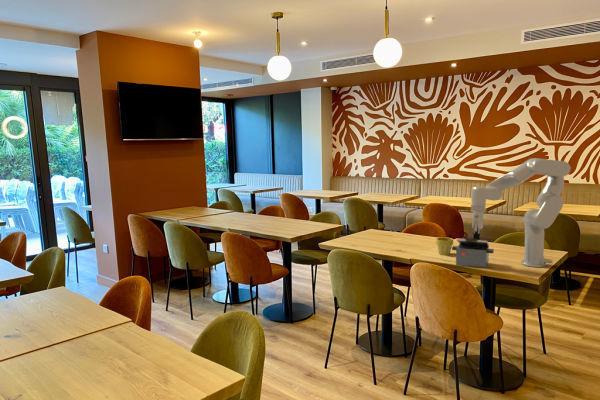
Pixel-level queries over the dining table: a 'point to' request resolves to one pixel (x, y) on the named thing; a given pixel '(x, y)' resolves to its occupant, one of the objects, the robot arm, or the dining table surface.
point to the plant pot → (444, 245)
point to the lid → (472, 242)
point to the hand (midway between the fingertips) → (476, 240)
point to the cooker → (472, 255)
